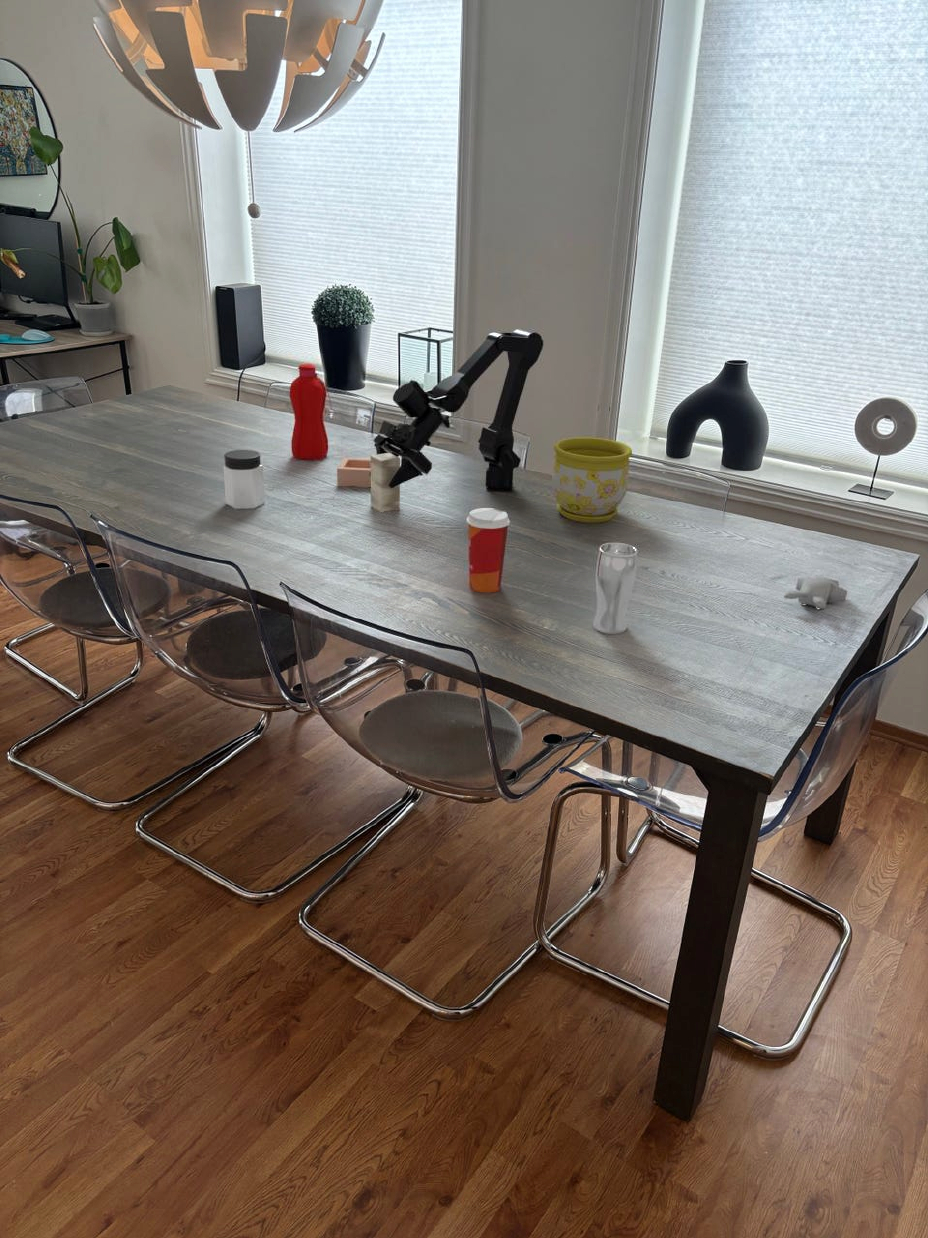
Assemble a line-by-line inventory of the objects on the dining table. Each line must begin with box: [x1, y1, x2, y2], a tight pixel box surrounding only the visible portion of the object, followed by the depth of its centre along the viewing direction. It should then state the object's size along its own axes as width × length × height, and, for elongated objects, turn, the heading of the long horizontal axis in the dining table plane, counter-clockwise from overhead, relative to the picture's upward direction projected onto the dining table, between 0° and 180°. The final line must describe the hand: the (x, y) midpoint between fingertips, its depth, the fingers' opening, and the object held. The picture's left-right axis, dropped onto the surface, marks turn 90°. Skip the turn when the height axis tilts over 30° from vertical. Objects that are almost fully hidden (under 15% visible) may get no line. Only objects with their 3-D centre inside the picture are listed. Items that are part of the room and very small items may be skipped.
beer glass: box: [592, 542, 638, 635], centre depth 168 cm, size 7×7×15 cm
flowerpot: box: [551, 436, 633, 524], centre depth 223 cm, size 18×18×16 cm
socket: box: [336, 457, 371, 488], centre depth 243 cm, size 10×10×4 cm
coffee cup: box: [466, 507, 511, 594], centre depth 182 cm, size 8×8×15 cm
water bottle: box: [288, 363, 332, 461], centre depth 257 cm, size 9×11×25 cm
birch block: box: [370, 453, 401, 513], centre depth 223 cm, size 5×5×12 cm
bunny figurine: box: [783, 575, 848, 610], centre depth 183 cm, size 10×5×15 cm
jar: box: [222, 449, 266, 510], centre depth 222 cm, size 9×8×12 cm
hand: (380, 481), depth 222 cm, fingers open, 9 cm apart
